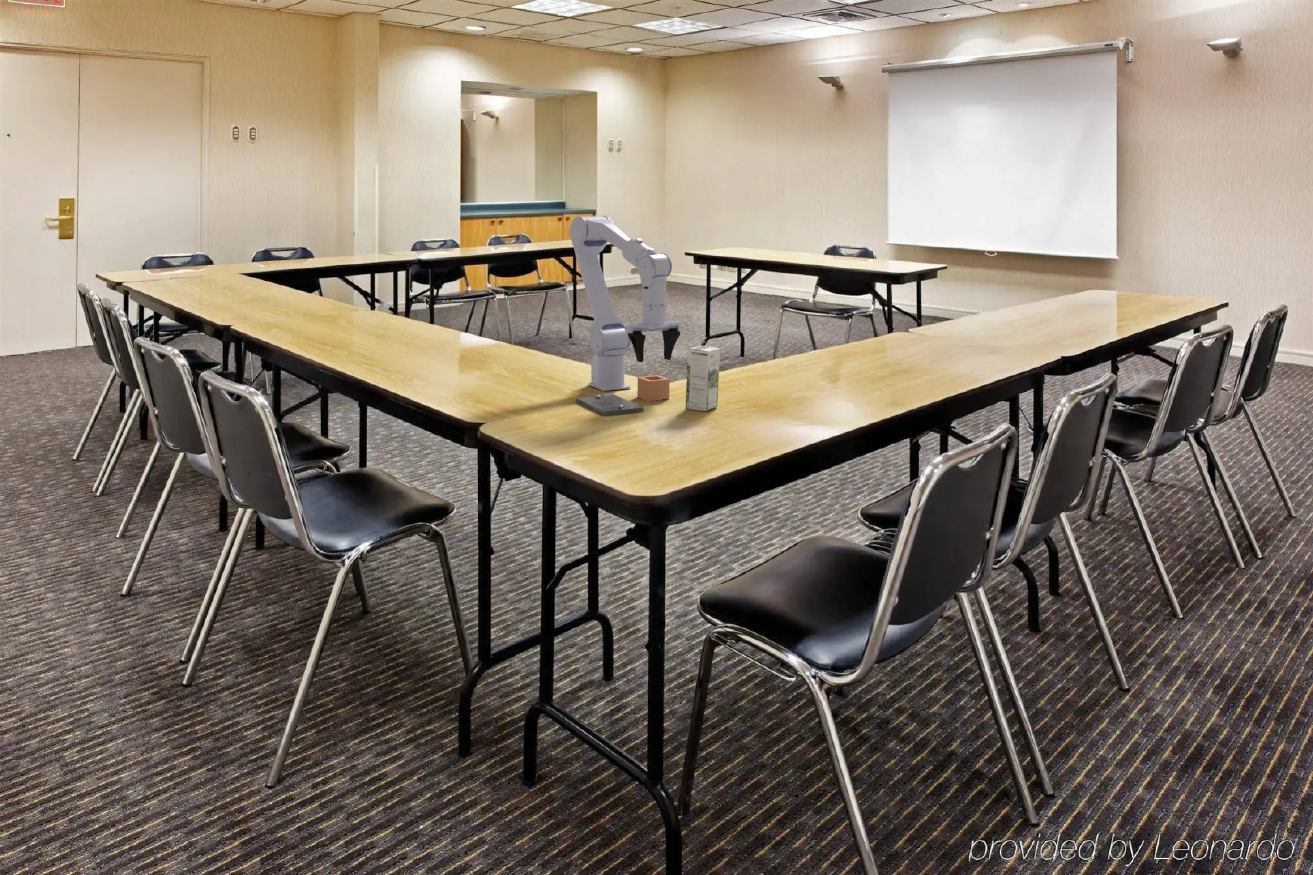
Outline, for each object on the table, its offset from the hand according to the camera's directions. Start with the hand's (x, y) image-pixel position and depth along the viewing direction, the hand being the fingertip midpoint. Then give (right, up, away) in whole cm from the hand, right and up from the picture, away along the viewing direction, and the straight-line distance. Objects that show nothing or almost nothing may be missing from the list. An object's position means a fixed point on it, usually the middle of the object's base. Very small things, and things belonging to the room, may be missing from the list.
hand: (653, 360), depth 240 cm
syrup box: (+11, -12, -8) cm, 18 cm away
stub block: (-10, -12, -8) cm, 17 cm away
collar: (0, -9, +2) cm, 9 cm away
